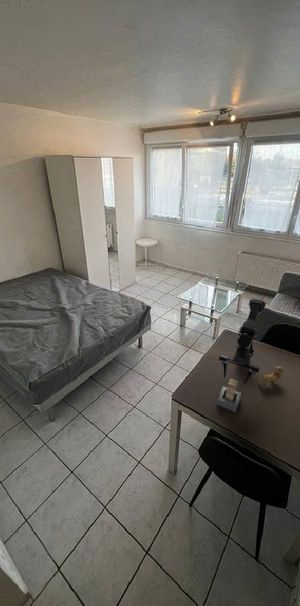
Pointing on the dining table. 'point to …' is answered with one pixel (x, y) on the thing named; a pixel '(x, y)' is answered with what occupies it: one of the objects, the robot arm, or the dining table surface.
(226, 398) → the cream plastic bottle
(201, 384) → the dining table surface
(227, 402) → the end cap
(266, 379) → the lion figurine
